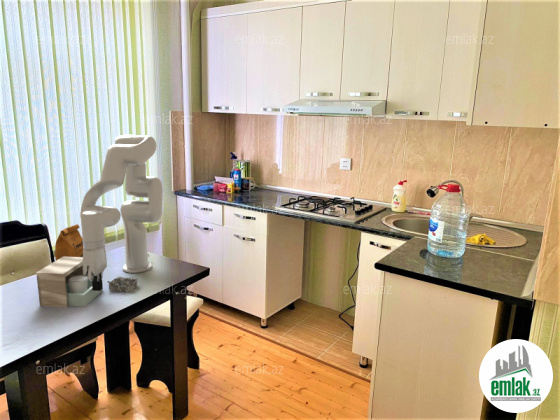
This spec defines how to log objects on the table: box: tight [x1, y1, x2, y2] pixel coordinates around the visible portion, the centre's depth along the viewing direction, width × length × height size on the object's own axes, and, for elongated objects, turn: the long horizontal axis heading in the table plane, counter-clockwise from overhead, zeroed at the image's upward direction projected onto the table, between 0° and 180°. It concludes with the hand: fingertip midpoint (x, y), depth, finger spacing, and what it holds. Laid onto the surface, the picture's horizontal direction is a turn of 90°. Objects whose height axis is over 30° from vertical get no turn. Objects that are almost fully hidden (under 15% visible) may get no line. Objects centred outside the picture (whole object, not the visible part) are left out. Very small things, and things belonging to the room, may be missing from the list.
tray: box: [66, 280, 104, 307], centre depth 157 cm, size 14×12×4 cm
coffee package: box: [54, 223, 84, 261], centre depth 175 cm, size 10×12×22 cm
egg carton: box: [106, 276, 139, 293], centre depth 166 cm, size 11×8×4 cm
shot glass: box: [68, 275, 88, 294], centre depth 156 cm, size 7×7×7 cm
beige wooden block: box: [35, 257, 88, 308], centre depth 156 cm, size 17×10×13 cm, turn 177°
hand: (97, 289), depth 156 cm, fingers closed
